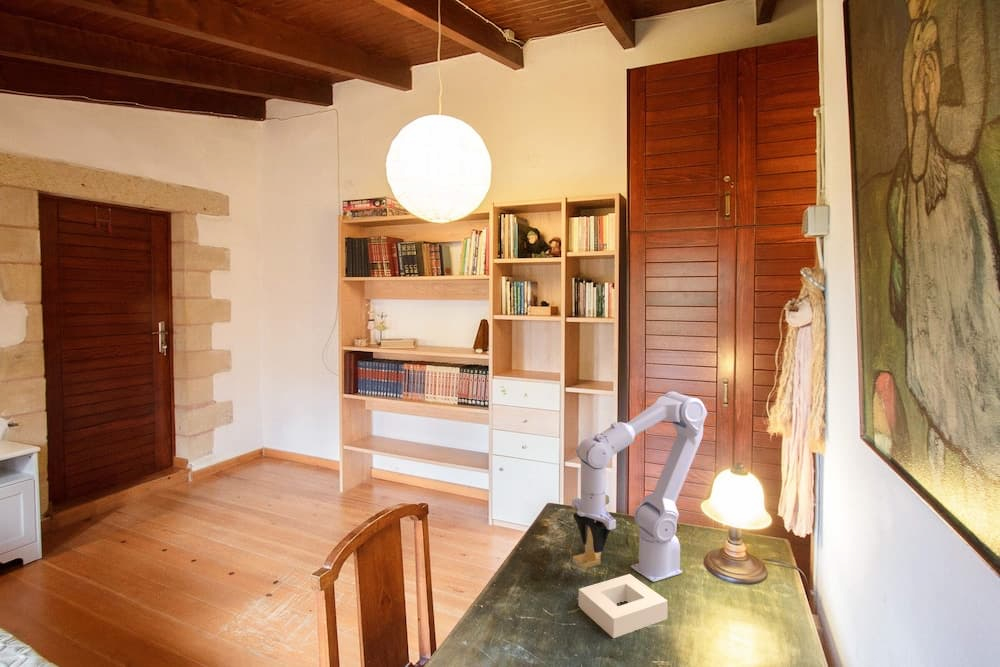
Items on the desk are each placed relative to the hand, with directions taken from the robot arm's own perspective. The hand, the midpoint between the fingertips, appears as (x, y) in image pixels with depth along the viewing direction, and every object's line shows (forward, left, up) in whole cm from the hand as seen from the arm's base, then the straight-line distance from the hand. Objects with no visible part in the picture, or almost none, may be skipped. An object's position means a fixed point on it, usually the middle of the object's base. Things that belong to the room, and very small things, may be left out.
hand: (592, 547), depth 126 cm
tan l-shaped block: (+2, 0, -3) cm, 4 cm away
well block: (+2, +13, -8) cm, 16 cm away
